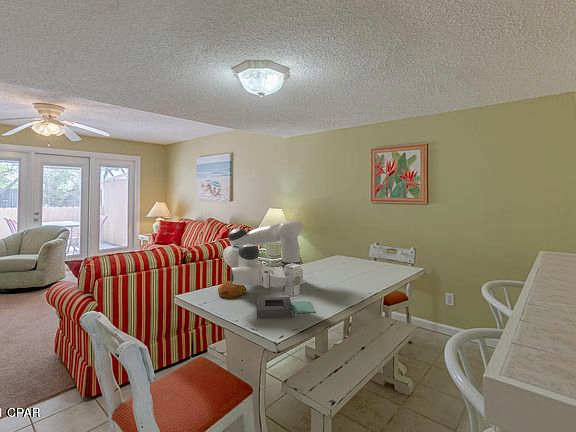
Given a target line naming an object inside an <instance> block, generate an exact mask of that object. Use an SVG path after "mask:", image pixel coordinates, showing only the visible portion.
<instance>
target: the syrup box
mask: <svg viewBox="0 0 576 432" xmlns="http://www.w3.org/2000/svg"><path fill="white" fill-rule="evenodd" d="M301 269H302V265H301V264H300V265H298V264H288V265H285V267H284V273H285V276H286V277H291V276H295V278H296V280H295V281H290V282H286V285H285V286H283V293H282V294H283V296H285V297H290V298H295V297H297V296H299V295H300V294H301V285H300V278H301Z"/></svg>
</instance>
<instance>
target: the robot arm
mask: <svg viewBox="0 0 576 432" xmlns="http://www.w3.org/2000/svg"><path fill="white" fill-rule="evenodd" d="M303 232H304V225H303V223H302V221H299V220H298V219H291V220H290V219H289V220H287V221H286V220H285V221H282V222H277V223H274V224H270V225H269V224H268V225H265V226H262V227H261V226H260V227H258V228H255V229H254V228H253V229H252V230H250V231H248V230H246V229H244V228H241V227H240V228H235V229H232V230H231V231H229V232H228V234H227V238H228V240H229V242H230V243H229V244H230V245H228V246H226V247H225V248H224V249H223V252H222V256H223V260H224V261H225V263H226V264H227V266H229V267H230V268H231V269H230V273H229V274H230V276H229V277H230V281H231V282H232V284H236V285H244V286H252V285H253V286H262V287H263V288H265V289H269V288H270V287H272V288H273V287H284V286H285V285H286V282H290V281H295V280H296V278H295V276H291V277H286V276H285V273H284V267H285V265H288V264H298V265H300V266H301V247H300V245H299V239H298V237H300V236H301V235H302V233H303ZM277 242H280V245H281V261H280V266H273V267H269V266H267V265H266V266H265V265H264V266H263V265H262V266H261V265H260V266H259V255H260V249H259V248H258V246H264V245H269V244H274V243H277ZM306 283H307V282H306V281H305V280H304V271H303V269H302V268H301V278H300V286H301V285H304V284H306Z"/></svg>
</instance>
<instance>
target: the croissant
mask: <svg viewBox="0 0 576 432" xmlns="http://www.w3.org/2000/svg"><path fill="white" fill-rule="evenodd" d="M246 292H247V287H246V285H236V284H232V282H231V280H226V281H224V282H223V283H222V284H220V285H219V286H218V289H217V293H218V296H219V297H221V298H226V299H230V298H231V299H232V298H235V299H236V298H240V297H241V296H243V295H245V294H246Z"/></svg>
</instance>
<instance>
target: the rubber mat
mask: <svg viewBox="0 0 576 432" xmlns="http://www.w3.org/2000/svg"><path fill="white" fill-rule="evenodd" d="M291 304H292V307H293V314H312V313H313V314H316V310H315V308H314V306H313V303H312V302H311V301H310V300H307V301H306V300H305V301H301V300H300V301H299V300H297V301H291Z"/></svg>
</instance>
